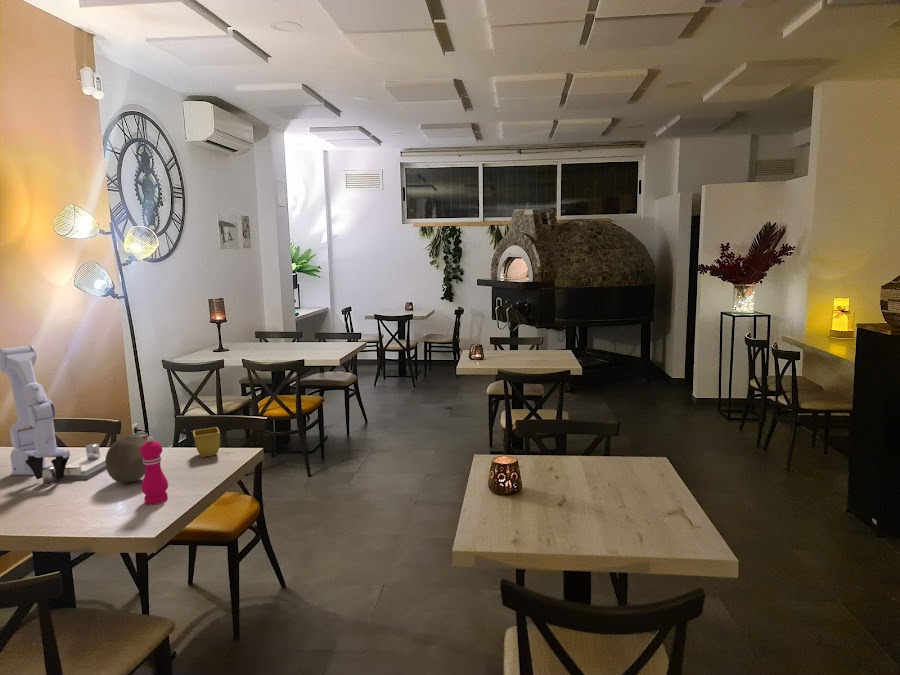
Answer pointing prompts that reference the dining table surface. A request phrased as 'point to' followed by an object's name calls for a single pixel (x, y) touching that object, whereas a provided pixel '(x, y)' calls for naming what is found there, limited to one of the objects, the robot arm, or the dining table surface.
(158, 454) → the pepper mill
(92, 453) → the cylinder
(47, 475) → the cylinder
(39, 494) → the dining table surface
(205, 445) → the flower pot
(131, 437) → the cantaloupe
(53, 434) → the robot arm
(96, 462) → the scale
